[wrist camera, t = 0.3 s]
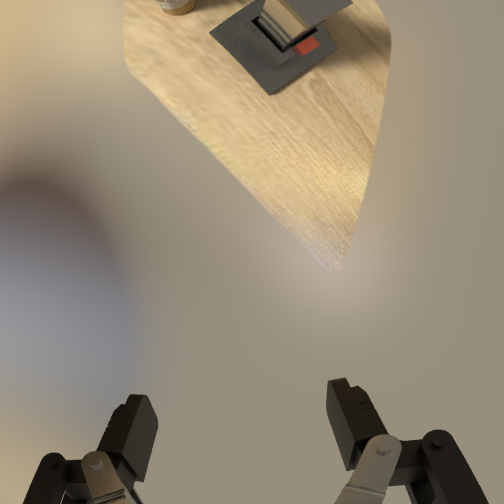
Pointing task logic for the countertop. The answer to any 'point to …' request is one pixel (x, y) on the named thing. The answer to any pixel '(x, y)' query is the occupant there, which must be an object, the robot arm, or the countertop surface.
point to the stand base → (269, 48)
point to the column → (295, 18)
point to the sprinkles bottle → (175, 6)
